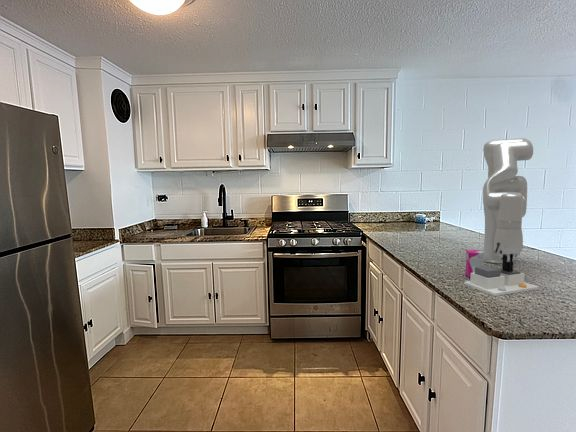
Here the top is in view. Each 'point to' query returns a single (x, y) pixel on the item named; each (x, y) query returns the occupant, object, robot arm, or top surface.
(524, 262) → the top surface
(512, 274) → the block
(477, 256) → the supplement box
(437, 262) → the top surface
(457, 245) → the top surface
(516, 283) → the breaker panel
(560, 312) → the top surface
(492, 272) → the plain breaker
